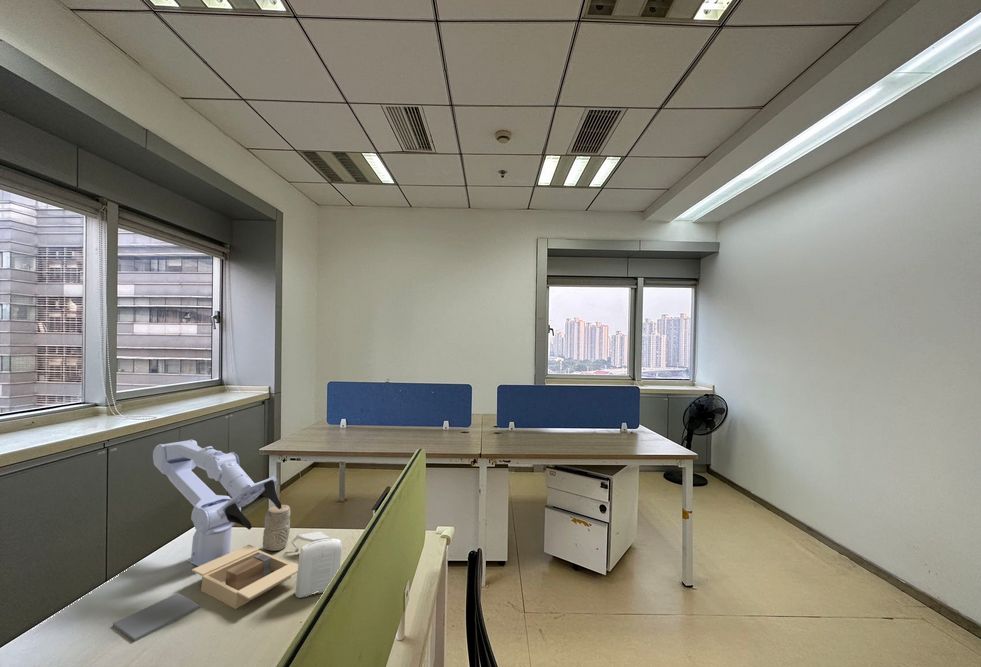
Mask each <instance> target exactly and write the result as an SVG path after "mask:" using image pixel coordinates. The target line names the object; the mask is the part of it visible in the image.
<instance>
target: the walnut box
mask: <svg viewBox="0 0 981 667" xmlns="http://www.w3.org/2000/svg"><path fill="white" fill-rule="evenodd" d="M270 568H271V557H269V556H267V555H264V554H262V553H260V554H258V555H256V556H254V558H252V559H250V560H247V561H245V562H243V563H241V564H239V565H237V566H235V567H233V568H230V569H228V570H227V572H226V581H225V583H224V584H226V585H228V586H230V587H232V588H234V589H236V590H238V591H239V590H240V589H242V588H244V587H246V586H248V585H250V584H252V583H254V582H256V581H257V580H259V579H261V578H263V577H265V576H267V575H269V574H271V571H270Z"/></svg>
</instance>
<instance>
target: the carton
mask: <svg viewBox="0 0 981 667" xmlns="http://www.w3.org/2000/svg"><path fill="white" fill-rule="evenodd" d="M260 553H262V554H264V555H267V556H269V557H271V568H270V574H269V575H267V576H265V577H263V578H261V579H259V580H257V581H256V582H254V583H252V584H250V585H248V586H246V587H244V588H242V589H240V590H239V591H238V590H236V589H234V588H232V587H230V586H228V585H226V584H225V583H223V582H226V572H227V570H228V569H230V568H233V567H235V566H237V565H239V564H241V563H243V562H245V561H247V560H250V559H252V558H254V556H256V555H258V554H260ZM191 571H192V572H194V573H196V574H197V575H199V576H202V577H201V585H200V586H201V587H200V591H201V592H203V593H205V594H207V595H208V596H210V597H212V598H214V599H216V600H217V601H219V602H221V601H222V603H223V602H224V604H225V605H227V606H229V607H231V608H233V609H235V610H237V609H238V608H240V607H241V606H242V607H243V606H244V605H245V604H247V603H249V602H251V601H252V600H254V599H256V598H258V597H259V596H261V595H263V594H265V593H266V592H269V591H270V590H272V589H273V588H275V587H277V586H279V585H280V584H282V583H284V582H285V581H288V580H289V579H291V578H292V576H294V575H295V574H297V572H298V563H295V562H289V561H287V560H284V559H281V558H280V557H277V556H274V555H272V554H269V553H267V552H265V551H263V550H260V549H259V548H258V547H256V546H253V545H252V544H251V545H250V544H247V545H244V546H243V547H239V548H238V549H236V550H234V551H230V553H229V554H226V555H224V556H222V557H219V558H217V559H215V560H212V561H210V562H208V563H205V564H203V565H201V566H199V567H198V566H196V567H194V568H192V569H191ZM272 571H273V572H272ZM250 600H251V601H250Z"/></svg>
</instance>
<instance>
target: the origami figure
mask: <svg viewBox="0 0 981 667" xmlns="http://www.w3.org/2000/svg"><path fill="white" fill-rule="evenodd" d="M298 539H299V540H301V541H304V542H309V543H311V542H314V541H318V540H322V539H332V538H331V537H330V536H328V535H326V534H325V533H324V532H323V531H322V530H321V531H314V532H309V533H307V532H306V533H303V534H297V535H296V537H295V538H294V539H292V541H291V544H292V545H293V547H294V548H295V549H296V551H299V547H298V545H297V544H296V543H295V541H297V540H298Z"/></svg>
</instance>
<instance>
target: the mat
mask: <svg viewBox="0 0 981 667" xmlns="http://www.w3.org/2000/svg"><path fill="white" fill-rule="evenodd" d="M199 608H201V605H200V604H198V602H195V601H193V600H192V599H190V598H188V597H186V596H184V595H183V594H181V593H179V592H177V593H175V594H173V595H170V596H168V597H166V598H164V599H162V600H159V601H157V602H155V603H153V604H150V605H149V606H146V607H145V608H142V609H140V610H138V611H136V612H134V613H132V614H129V615H128V616H125V617H123V618H121V619H119V620H117V621H114V622H113V623H112V627H113V628H115V629H116V630H118V631H119V632H120V633H121V634H123V635H124V636H126V637H128V638H129V639H130V640H131V641H133V642H134V643H135V642H137V641H139V640H141V639H143V638H144V637H147V636H149V635H150V634H152V633H154V632H156V631H158V630H160V629H162V628H164V627H166V626H167V625H170V624H171V623H174V622H175V621H177V620H179V619H181V618H182V617H184V616H186V615H189V614H191V613H192V612H195V611H197V610H199Z"/></svg>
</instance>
